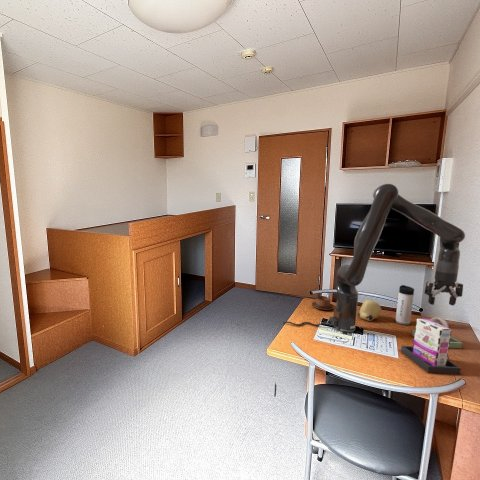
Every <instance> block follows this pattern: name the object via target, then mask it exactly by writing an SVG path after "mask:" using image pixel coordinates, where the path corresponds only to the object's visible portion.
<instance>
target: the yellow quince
mask: <svg viewBox="0 0 480 480" xmlns="http://www.w3.org/2000/svg"><path fill="white" fill-rule="evenodd" d="M381 314H382V307H381V305H380V304H379V303H378V302H377V301H375V300H372V299H365V300H364V301H363V303H362V304H361V306H360V309H359V312H358V313H357V317H358V318H360V319H361V320H364V321H366V322H372V321H373V320H375V319H379V317H380V315H381Z"/></svg>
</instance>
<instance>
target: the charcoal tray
mask: <svg viewBox="0 0 480 480" xmlns="http://www.w3.org/2000/svg"><path fill="white" fill-rule="evenodd" d="M412 351H413V345H401V347H400V352H401V353H402V354H404V355H405V356H406V357H408V358H409V359H410V360H411V361H412V362H414V363H415V364H416V365H417V366H419V367H420V368H421V369H423V371H425V372H426V373H428V374H445V375H446V374H447V375H448V374H450V375H461V369H462V368H461V367H460V366H458V365H457V364H455V363H454V362H453V361H452V360H450V359H448V358H447V364H446V366H432V365H430V364H428V363H427V362H425V361H423V360H422V359H420V358H419V357H417V356H416V355H415V354H413V353H412Z"/></svg>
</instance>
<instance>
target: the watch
mask: <svg viewBox="0 0 480 480" xmlns="http://www.w3.org/2000/svg"><path fill="white" fill-rule="evenodd" d="M429 320H431V321H434V322H436V323H438V324H440V323H441V324H442V325H443V326H445V327H447V328H449V323H448V321H447V320H446V319H444V318H443V317H438V316H437V317H432V318H430V319H429Z"/></svg>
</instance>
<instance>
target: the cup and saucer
mask: <svg viewBox="0 0 480 480" xmlns="http://www.w3.org/2000/svg"><path fill="white" fill-rule="evenodd" d="M311 305H312V306H313V307H314V308H315V309H318V310H321V311H331V310H334V309H335V305H334V304H332V303H331V298H330V297H328V296H323V295H318V296H316V301H312V302H311Z"/></svg>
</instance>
